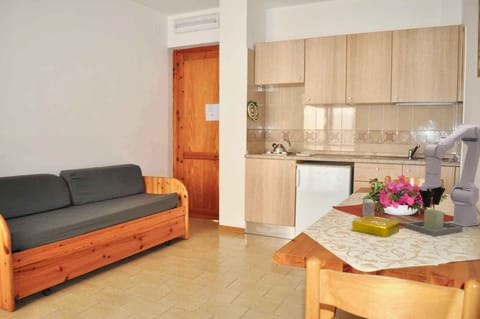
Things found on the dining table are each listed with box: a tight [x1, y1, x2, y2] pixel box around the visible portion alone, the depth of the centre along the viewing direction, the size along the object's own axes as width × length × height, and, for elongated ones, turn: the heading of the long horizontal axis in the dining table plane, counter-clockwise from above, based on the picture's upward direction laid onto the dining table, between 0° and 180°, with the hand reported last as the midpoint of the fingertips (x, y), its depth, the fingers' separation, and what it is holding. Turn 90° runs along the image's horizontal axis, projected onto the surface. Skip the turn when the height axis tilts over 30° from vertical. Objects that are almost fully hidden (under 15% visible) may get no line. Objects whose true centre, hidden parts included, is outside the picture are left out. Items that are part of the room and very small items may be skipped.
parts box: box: [423, 208, 445, 231], centre depth 162 cm, size 4×6×8 cm, turn 25°
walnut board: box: [383, 214, 424, 227], centre depth 176 cm, size 14×12×1 cm
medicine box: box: [361, 198, 375, 217], centre depth 179 cm, size 8×4×9 cm, turn 168°
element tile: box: [351, 215, 400, 238], centre depth 160 cm, size 15×15×5 cm
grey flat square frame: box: [404, 221, 464, 237], centre depth 162 cm, size 17×14×2 cm
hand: (431, 205), depth 161 cm, fingers open, 7 cm apart
